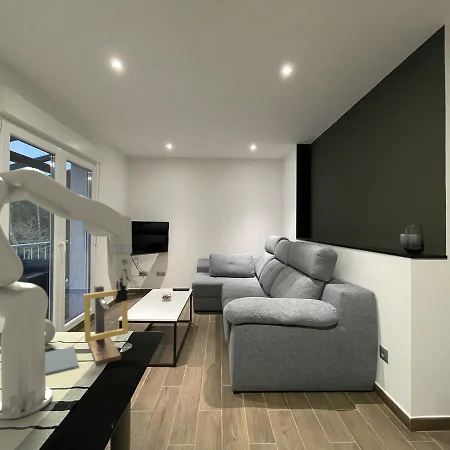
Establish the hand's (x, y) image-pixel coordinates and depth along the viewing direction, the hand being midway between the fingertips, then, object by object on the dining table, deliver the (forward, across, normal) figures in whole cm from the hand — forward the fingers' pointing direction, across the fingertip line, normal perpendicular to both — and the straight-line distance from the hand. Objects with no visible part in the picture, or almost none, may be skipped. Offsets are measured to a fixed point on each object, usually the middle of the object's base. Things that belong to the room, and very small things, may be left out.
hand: (121, 300), depth 107 cm
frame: (+12, 0, +5) cm, 13 cm away
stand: (+20, +7, +5) cm, 21 cm away
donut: (+20, +27, +24) cm, 41 cm away
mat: (+20, +7, +20) cm, 29 cm away
